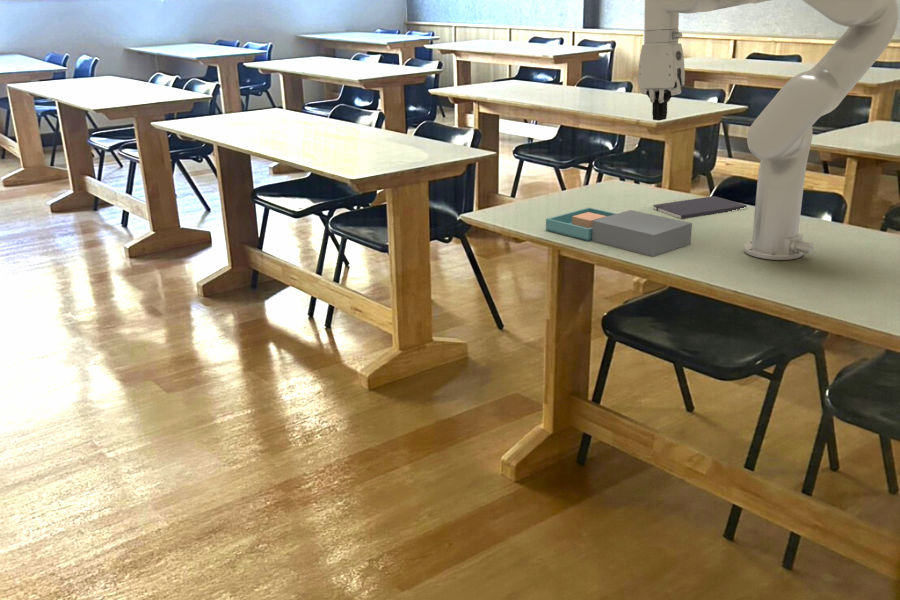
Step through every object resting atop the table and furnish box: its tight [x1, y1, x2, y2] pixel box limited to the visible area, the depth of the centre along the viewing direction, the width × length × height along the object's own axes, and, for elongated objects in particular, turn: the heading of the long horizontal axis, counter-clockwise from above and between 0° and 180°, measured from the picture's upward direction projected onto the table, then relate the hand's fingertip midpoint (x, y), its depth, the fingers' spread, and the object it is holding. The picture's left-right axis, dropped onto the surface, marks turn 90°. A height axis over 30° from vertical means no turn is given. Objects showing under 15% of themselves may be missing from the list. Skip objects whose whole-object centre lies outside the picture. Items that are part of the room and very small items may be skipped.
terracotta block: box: [572, 212, 607, 228], centre depth 216 cm, size 6×6×3 cm
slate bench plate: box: [591, 209, 693, 257], centre depth 204 cm, size 18×14×5 cm
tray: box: [545, 207, 617, 242], centre depth 216 cm, size 14×16×3 cm
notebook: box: [652, 195, 747, 220], centre depth 232 cm, size 13×2×21 cm
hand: (659, 119), depth 202 cm, fingers closed
